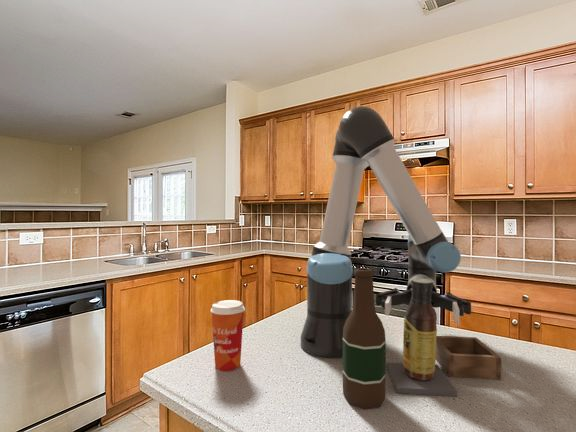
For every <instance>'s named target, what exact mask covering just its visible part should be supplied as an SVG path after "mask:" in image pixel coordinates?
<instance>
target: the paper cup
mask: <svg viewBox="0 0 576 432" xmlns="http://www.w3.org/2000/svg"><path fill="white" fill-rule="evenodd" d="M245 311H246V308H245V306H244V304H243V302H242V301H241V300H235V299H234V300H233V299H226V300H219V301H217V302H214V303H212V305H211V308H210V313H211V318H212V319H211V321H212V322H211V323H212V336H213V337H212V338H213V352H214V353H213V355H214V367H215V369H216V370H217V371H221V372H232V371H236V370H237V369H239V368H240V366H241V361H242V359H241V358H242V343H243V326H244V325H243V324H244V312H245Z"/></svg>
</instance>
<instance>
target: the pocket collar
mask: <svg viewBox="0 0 576 432" xmlns="http://www.w3.org/2000/svg"><path fill="white" fill-rule="evenodd" d="M435 362H437V363H438V366H439V367H441V368H442V371H444V372H445V375H446V376H448V377H450V378H466V379H467V378H470V379H485V380H486V379H488V380H489V379H490V380H502V357H501V356H500V355H499V354H498V353H497V352H495V351H494V350H492V349H491V348H490V347H489V346H487V345H486V343H484V342H482V341H481V340H480V339H479V338H478V337H473V336H472V337H471V336H450V335H449V336H446V335H437V336H436V358H435Z"/></svg>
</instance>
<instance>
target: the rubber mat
mask: <svg viewBox="0 0 576 432" xmlns="http://www.w3.org/2000/svg"><path fill="white" fill-rule="evenodd" d="M386 370H387V372H388V375H389V377H390V379H391V381H392V385H393V386H394V387H393V388H394V389H395V391H396V393H397V394H412V395H425V396H427V395H428V396H441V397H442V396H445V397H458V390H457V389H456V388H455V386H454V385H453V384H452V381H450V380H449V378H448V377H447V375H446V373H444V372H443V369H441V368H440V365H439V364H435V371H434V376H433V378H432V379H431V380H417V379H414V378H411V377H409V376H408V375H407V374H406V373H405V372H404V370H403V362H394V361H392V362H391V361H388V362H387V361H386Z"/></svg>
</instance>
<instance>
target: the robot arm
mask: <svg viewBox="0 0 576 432" xmlns="http://www.w3.org/2000/svg"><path fill="white" fill-rule="evenodd" d="M334 141H335V142H334V147H333V150H332V157H331V158H332V160H333V162H334V163H335V167H334V171H333V176H332V181H331V186H330V190H329V194H328V195H329V196H328V200H327V205H326V208H325V209H326V210H325V215H324V220H323V223H322V224H323V225H322V228H321V232H320V237H319V240H318V241H317V242H316V243H314V244H313V246H312V252H311V256H310V257H309V258H308V259H307V263H306V264H307V265H306V268H305V269H306V273H307V274H306V277H307V278H306V280H307V281H306V283H307V284H306V285H307V286H306V289H307V290H306V293H307V294H306V295H307V297H306V298H307V300H306V301H307V303H306V304H307V305H306V306H307V307H306V308H307V309H306V310H307V311H306V318H305V322H304V325H303V327H302V331H301V334H300V347H301V349H302V350H303V351H305V352H307V353H308V354H311V355H313V356H317V357H322V358H343V328H344V325H345V322H346V320H347V318H348V317H349V315H350V314H351V312H352V309H353V274H354V269H353V263H352V262H353V261H352V260H351V258H352V252H351V251H350V249H349V247H348V246H349V242H350V237H351V234H352V233H351V232H352V228H353V223H354V219H355V214H356V209H357V203H358V199H359V195H360V191H361V186H362V181H363V176H364V171H365V169H367V168H368V167H369V168H370V169H371V171H372V172H373V175H374V176H375V177H376V181H378V183H379V186H380V187H381V188H382V190H383V192H384V193H385V196H386V197H387V199H388V201H389V202H390V204H391V206H392V207H393V209H394V211H395V213H396V215H397V216H398V218H399V220H400V222H401V224H402V225H403V227H404V229H405V230H406V232H407V234H408V237H407V238H408V240H407V249H408V250H407V255H408V256H407V257H408V264H407V265H408V268H407V269H408V272H407V273H408V274H407V275H408V282H407V286H406V288H405V290H403V291H400V289H399V288H397V287H394V288H392V289H390V290H387V291H383V292H379V293H376V294H375V306H381V308H382V309H383V311H384V316H390V313H391V311H392V307H393V306H399V305H406V306H409V303H410V301H411V297H412V286H411V280H412V279H414V278H425V279H429V280H432V282H433V288H432V291H431V299H432V301H431V304H432V306H433V308H434V309H435V308H440V309H443V310H447V311H449V312H452V317H453V319H454V323H455V324H460V317H464V316H465V314H466V315H471V314H472V302H471V301H468V300H466V299H463V298H462V297H459V296H456V295H454V294H453V293H451V292H446V293H444V295H441V293H439V292H438V290H437V274H436V273H437V272H440V273H450V272H453V271H454V270H456V269H457V268H458V267H459V265H460V263H461V260H462V259H461V258H462V257H461V252H460V249H458V247H457V246H456V245H455V244H453V243H452V242H450V241H448V239H447V237H446V236H445V234H444V232H443V231H442V229H441V227H440V225H439V224H438V222H437V220H436V219H435V217H434V215H433V213H432V211H431V210H430V208H429V207H428V204H427V203H426V201H425V199H424V197H423V196H422V194H421V193H420V190H419V189H418V187H417V185H416V184H415V182H414V180H413V178H412V177H411V176H412V175H410V172H409V171H408V169H407V167H406V165H405V164H404V162H403V160H402V159H401V157H400V155H399V153H398V151H397V150H396V148H395V142H396V140H395V138H394V136H393V134H392V133H391V131H390V129H389V127H388V124H386V122H385V120H384V119H383V118H382V116H381V115H380V114H379V113H378V111H376V110H375V109H374V108H372V107H369V106H364V105H363V106H355V107H353V108H351V109H349V110H348V111H346V112H345V113H344V115H343V116H342V117H341V119H340V122H339V126H338V129H337V131H336V134H335V140H334Z"/></svg>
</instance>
